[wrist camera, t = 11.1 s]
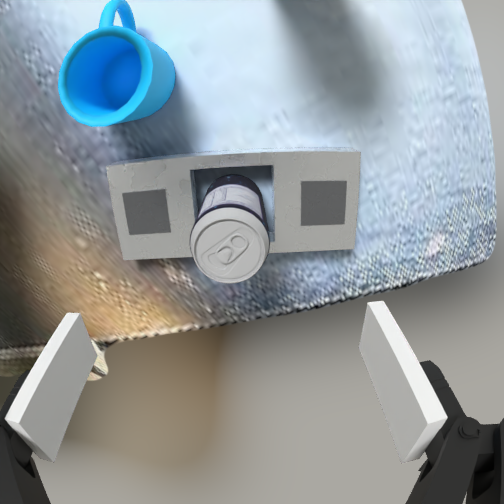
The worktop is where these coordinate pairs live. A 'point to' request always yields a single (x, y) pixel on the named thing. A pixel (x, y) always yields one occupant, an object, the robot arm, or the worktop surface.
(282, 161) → the white compartment tray
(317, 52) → the worktop surface
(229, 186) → the beverage can
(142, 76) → the mug
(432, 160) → the worktop surface
